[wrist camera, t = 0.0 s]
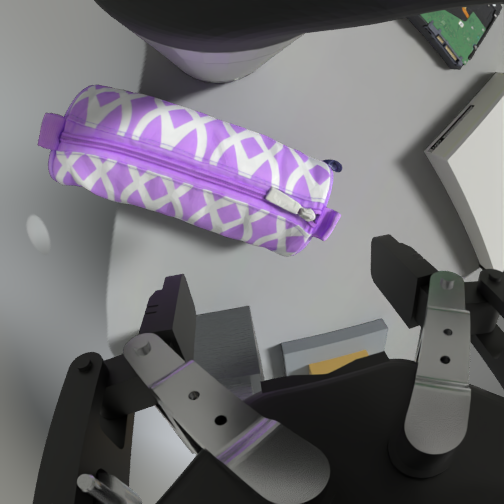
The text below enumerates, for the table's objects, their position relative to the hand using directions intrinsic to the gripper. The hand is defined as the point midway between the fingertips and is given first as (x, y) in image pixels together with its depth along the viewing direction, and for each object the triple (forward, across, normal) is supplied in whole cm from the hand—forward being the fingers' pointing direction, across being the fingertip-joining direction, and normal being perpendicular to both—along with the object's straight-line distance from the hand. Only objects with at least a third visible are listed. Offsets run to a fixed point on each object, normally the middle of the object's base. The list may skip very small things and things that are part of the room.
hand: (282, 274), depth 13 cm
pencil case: (+18, +4, -3) cm, 18 cm away
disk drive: (+17, -26, -19) cm, 36 cm away
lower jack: (+18, -8, +28) cm, 34 cm away
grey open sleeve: (+18, +7, +19) cm, 27 cm away
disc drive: (+18, -33, +3) cm, 38 cm away
